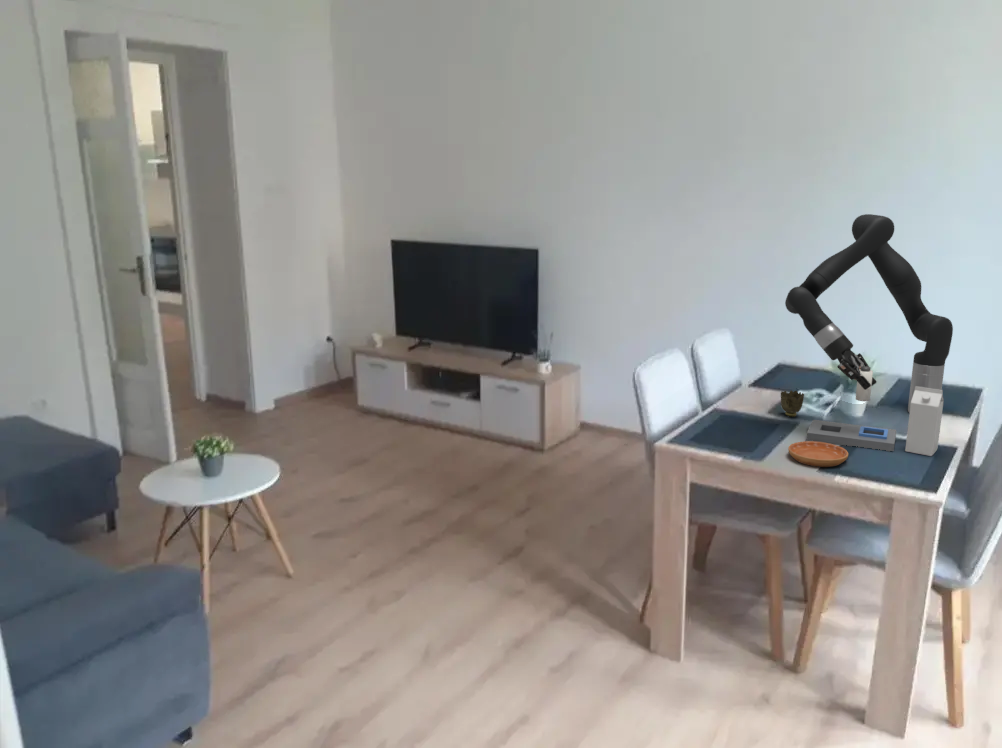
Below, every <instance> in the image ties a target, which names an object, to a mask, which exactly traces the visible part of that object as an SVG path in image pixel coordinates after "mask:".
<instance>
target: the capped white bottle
mask: <svg viewBox="0 0 1002 748" xmlns="http://www.w3.org/2000/svg"><path fill="white" fill-rule="evenodd" d="M859 370H860V372H861V373H862V375H863V376H864V377H865V378H866V379H867V381H868V382H869V383H870V384H871V386H870V387H869V388H868V389H866V390H865V389H863V387H862V386H861V385H860V384H859V383H858V381H857V380H856V389H855V400H856V401H858V402H870V401H871V396H872V387H873V386H872V377H873V374H874V372H873V371H874V370H872V369H871V367H870V366H869V367H867V366H865V365H864V366H862V367H861V369H859Z"/></svg>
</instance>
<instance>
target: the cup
mask: <svg viewBox="0 0 1002 748" xmlns="http://www.w3.org/2000/svg"><path fill="white" fill-rule="evenodd" d="M804 398H805V393H803V392H801V391H800V392H798V391H797V390H795V391H793V390H792V389H791V390H790V391H789V392H787V391H786V390H784V391H781V392H780V405H781V408H782V410H783V412H784V414H785V416H786V417H787V416H789V417H788V418H795V417H797V415H798V414H797V413H799V412H800V411H801V409H802V407H803V403H804Z"/></svg>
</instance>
